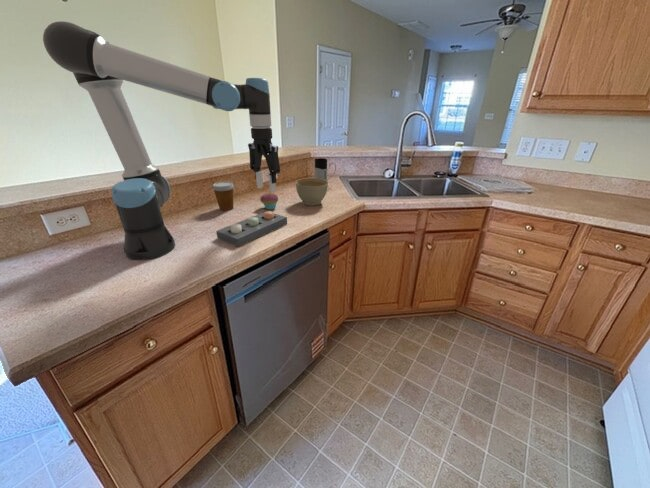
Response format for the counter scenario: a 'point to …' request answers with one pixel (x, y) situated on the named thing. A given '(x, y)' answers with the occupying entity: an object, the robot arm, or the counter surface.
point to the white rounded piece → (236, 228)
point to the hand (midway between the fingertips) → (266, 189)
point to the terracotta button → (268, 215)
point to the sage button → (253, 221)
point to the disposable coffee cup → (224, 195)
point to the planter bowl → (311, 190)
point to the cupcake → (269, 200)
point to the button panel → (251, 230)
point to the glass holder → (322, 168)
